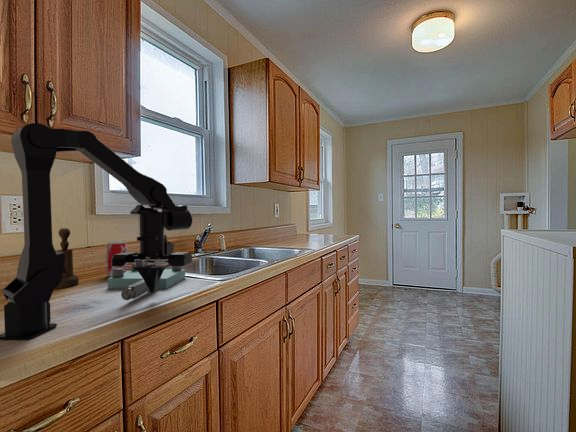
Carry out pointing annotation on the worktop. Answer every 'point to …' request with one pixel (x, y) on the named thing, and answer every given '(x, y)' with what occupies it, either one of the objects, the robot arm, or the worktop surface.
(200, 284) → the worktop surface
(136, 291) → the folding leg
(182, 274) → the stool seat
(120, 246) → the soda can
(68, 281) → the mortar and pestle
